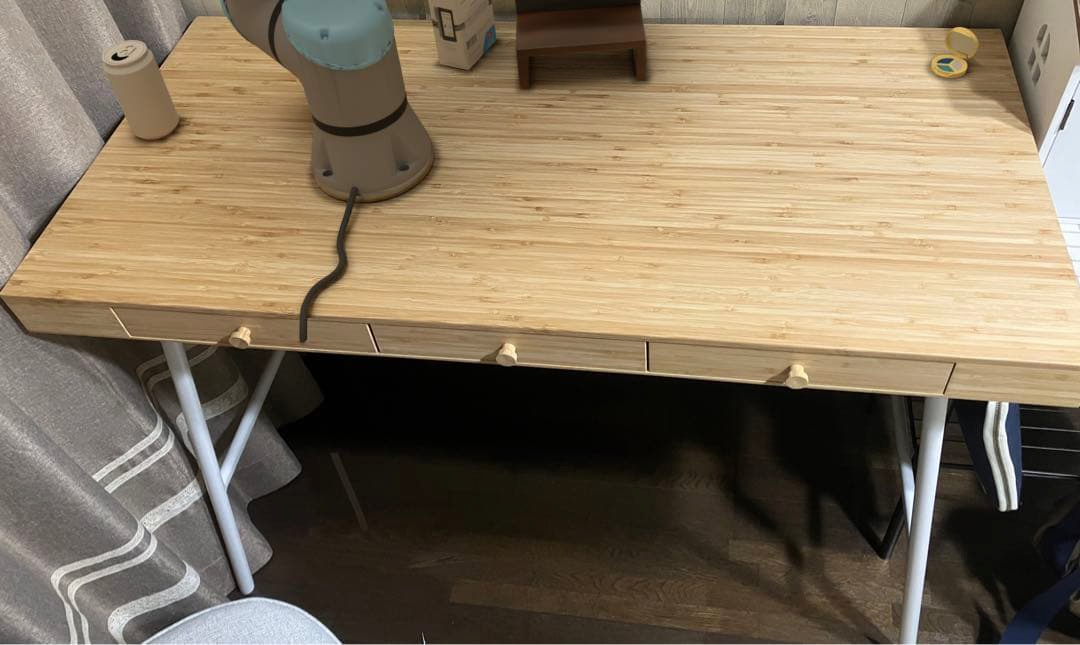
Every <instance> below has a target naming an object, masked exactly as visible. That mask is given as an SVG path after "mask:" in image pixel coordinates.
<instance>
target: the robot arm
mask: <svg viewBox="0 0 1080 645" xmlns="http://www.w3.org/2000/svg"><path fill="white" fill-rule="evenodd" d="M219 3H220V6H221V9H222V11H223V13H224V15H225V17H226V19H227V20H228V22H229V24H231V26H232V27H233V28H234V30H235V31H236V32H237V33H238V35H240V36H241V37H242V38H243V39H245V41H247V42H249V43H250V44H251V45H253V46H255V47H256V48H257V49H259V50H261V52H263V53H265V54H266V55H267V56H268V57H270V58H271V59H272V60H273V61H275V62H276V63H277V64H279V65H280V66H282V67H283V68H284V69H286V70H287V71H288V72H289V73H291V75H293V76H295V78H297V79H298V80H299V82H300V84H301V86H302V88H303V91H304V95H305V98H306V102H307V104H308V105H307V106H308V108H309V111H310V114H311V117H312V121H313V129H312V142H311V152H310V164H311V169H312V170H311V171H312V173H313V176H314V179H315V182H316V184H317V185H318V187H319V188H320V189H321V190H322V191H323V192H324V193H326V194H327V195H329V196H331V197H333V198H335V199H337V200H341V201H345V202H347V203H346V206H345V210H344V212H343V216H342V218H341V222H340V225H339V229H338V232H337V236H336V241H335V242H336V244H335V246H336V252H337V255H338V264H337V266H336V267H335V268H334V270H332V271H331V272H330V273H328V274H327V275H326V276H325V277H323V278H321V279H320V280H319V281H317V282H316V283H315V284H314V285H312V286H311V287H310V289H309V290H308V292H307V293H306V295H305V297H304V298H303V301H302V303H301V306H300V311H299V323H298V324H299V326H298V327H299V330H298V339H299V340H298V341H299V343H301V344H304V343H306V342H307V340H308V318H309V310H310V305H311V303H312V301H313V300H314V298H315V296H316V295H317V294H318V293H319V292H320V291H321V290H322V289H323V288H325V287H327V286H328V285H329V284H330V283H332V282H333V281H335V280H336V279H337V278H339V277H340V276H341V274H342V273H343V272H344V270H345V268H346V266H347V253H346V251H345V245H344V243H345V236H346V233H347V229H348V226H349V223H350V220H351V218H352V213H353V210H354V206H355V203H369V202H371V203H372V202H378V201H382V200H383V201H384V200H387V199H391V198H393V197H396V196H399V195H401V194H403V193H405V192H407V191H409V190H411V189H412V188H414V187H415V186H416V185H418V184H419V183H420V182H422V180H423V179H424V178H426V176H427V175H428V173H429V172H430V170H431V168H432V166H433V163H434V158H435V156H434V155H435V154H434V147H433V144H432V139H431V138H430V135H429V133H428V131H427V129H426V127H425V126H424V124H423V123H422V121H421V120H420V119H419V116H418V115H417V113H416V112H415V110H414V109H413V107H412V105H411V104H410V103H409V100H408V95H407V90H406V85H405V80H404V76H403V71H402V66H401V61H400V56H399V52H398V51H399V50H398V46H397V42H396V36H395V25H394V20H393V17H392V14H391V12H390V11H389V7H388V4H387V1H386V0H219ZM330 456H331V458H332V461H333V463H334V466H335V468H336V470H337V473H338V475H339V478H340V480H341V482H342V485H343V487H344V489H345V491H346V494H347V496H348V498H349V500H350V503H351V505H352V507H353V510H354V513H355V516H356V518H357V520H358V523H359V526H360V528H361V531H362V532H367V531H368V530H369V527H368V523H367V521H366V518H365V515H364V512H363V511H362V509H361V505H360V503H359V501H358V498H357V496H356V494H355V490H354V489H353V486H352V484H351V482H350V479H349V477H348V475H347V472H346V470H345V467H344V465H343V463H342V460H341V458H340V454H339V452H330Z"/></svg>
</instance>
